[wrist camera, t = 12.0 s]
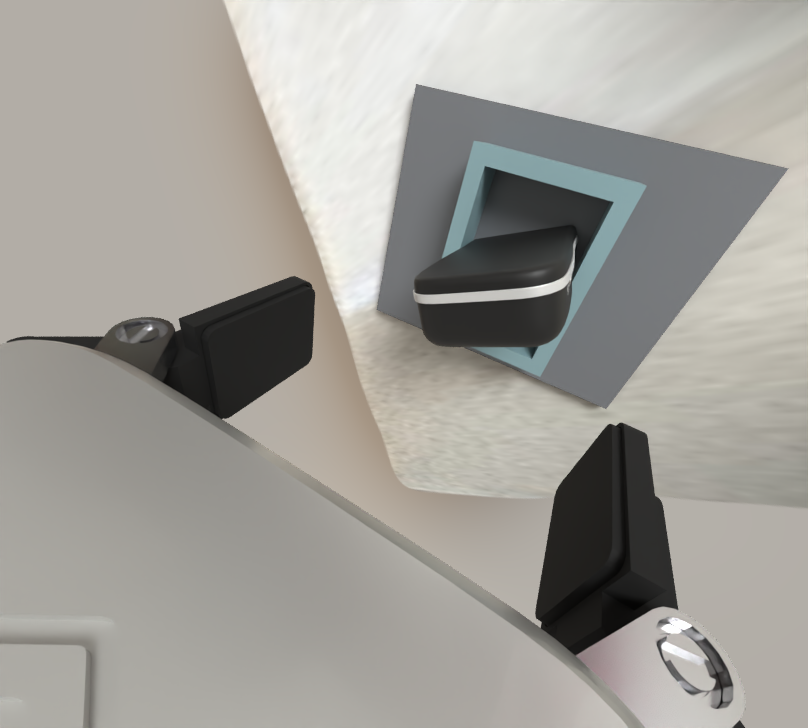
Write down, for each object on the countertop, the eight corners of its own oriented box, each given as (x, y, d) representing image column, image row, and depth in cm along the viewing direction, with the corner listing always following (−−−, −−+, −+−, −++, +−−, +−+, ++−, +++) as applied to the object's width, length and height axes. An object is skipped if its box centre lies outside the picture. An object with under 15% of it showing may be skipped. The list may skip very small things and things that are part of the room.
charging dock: (781, 168, 17) (819, 169, 14) (606, 403, 26) (606, 433, 23) (421, 86, 22) (393, 74, 19) (381, 306, 31) (358, 321, 28)
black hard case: (476, 291, 26) (411, 358, 17) (470, 238, 24) (395, 283, 16) (579, 283, 23) (566, 362, 14) (581, 222, 21) (566, 266, 12)
